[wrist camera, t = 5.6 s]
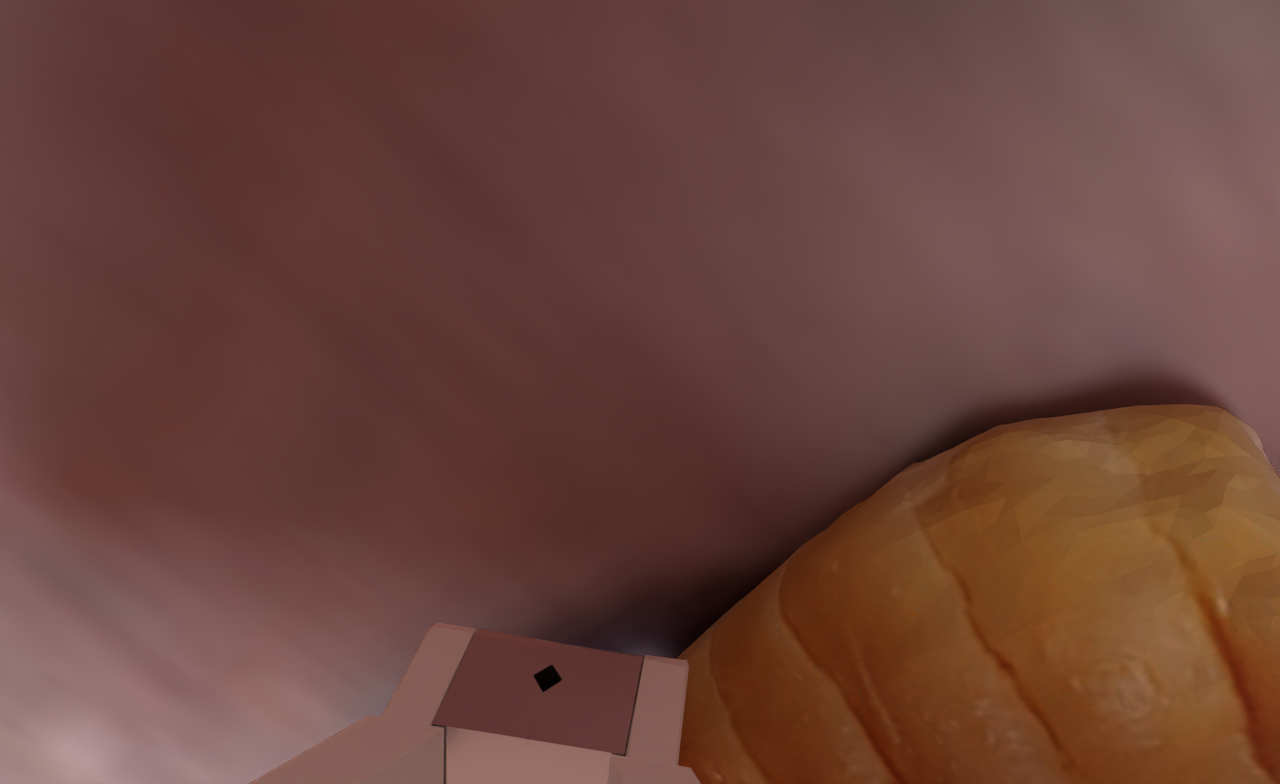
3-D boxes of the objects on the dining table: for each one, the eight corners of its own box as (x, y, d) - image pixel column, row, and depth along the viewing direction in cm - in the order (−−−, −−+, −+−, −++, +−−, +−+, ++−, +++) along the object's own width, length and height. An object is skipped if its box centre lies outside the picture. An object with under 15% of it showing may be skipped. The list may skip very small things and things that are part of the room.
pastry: (780, 921, 15) (784, 1193, 12) (536, 629, 14) (456, 843, 10) (1382, 701, 12) (1631, 977, 9) (1163, 293, 11) (1360, 432, 7)
